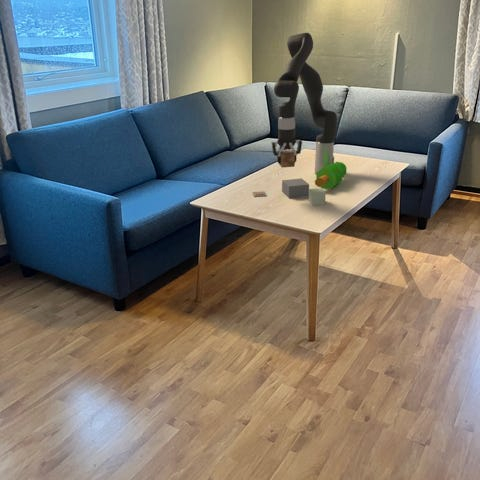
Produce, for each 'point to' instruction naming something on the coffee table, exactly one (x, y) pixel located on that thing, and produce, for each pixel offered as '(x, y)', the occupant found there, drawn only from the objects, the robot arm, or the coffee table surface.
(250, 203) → the coffee table surface
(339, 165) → the decorative tree
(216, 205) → the coffee table surface
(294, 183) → the base block
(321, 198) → the sage cube
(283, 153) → the walnut cube
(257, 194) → the card
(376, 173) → the coffee table surface
